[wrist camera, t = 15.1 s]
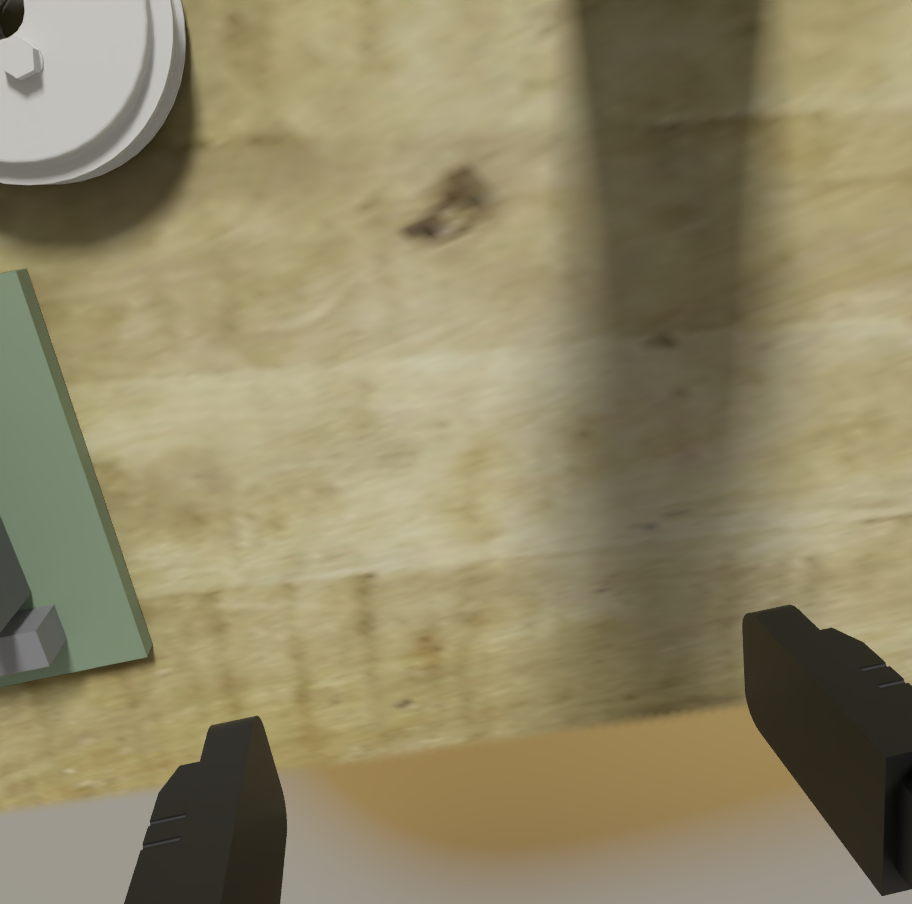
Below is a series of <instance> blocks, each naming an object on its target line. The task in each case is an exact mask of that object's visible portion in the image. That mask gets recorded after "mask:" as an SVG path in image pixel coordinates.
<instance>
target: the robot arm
mask: <svg viewBox="0 0 912 904" xmlns="http://www.w3.org/2000/svg"><path fill="white" fill-rule="evenodd" d="M742 629H743V653H744V677H745V694H746V700H747V704H748V708H749V711H750V714H751V716H752V719H753V721H754V723H755V725H756V727H757V728H758V730H759V731H760V733H761V734H762V736H763V737H764V738H765V740H766V741H767V742H768V744H769V745H770V746H771V748H772V749H773V750H774V751H775V753H776V754H777V756H778V757H779V758H780V760H781V761H782V763H783V764H784V765H785V767H786V768H787V769H788V771H789V772H790V773H791V775H792V776H793V777H794V779H795V780H796V781H797V783H798V784H799V785H800V786H801V788H802V789H803V791H804V792H805V793H806V795H807V796H808V797H809V799H810V800H811V801H812V803H813V804H814V805H815V807H816V808H817V810H818V811H819V812H820V814H821V815H822V816H823V818H824V819H825V820H826V822H827V823H828V824H829V826H830V827H831V828H832V830H833V831H834V832H835V834H836V835H837V837H838V838H839V839H840V840H841V842H842V843H843V844H844V846H845V847H846V849H847V850H848V851H849V853H850V854H851V855H852V857H853V858H854V859H855V861H856V862H857V863H858V865H859V866H860V867H861V869H862V870H863V872H864V873H865V874H866V875H867V877H868V878H869V879H870V881H871V882H872V884H873V885H874V886H875V888H876V889H877V890H878V892H879V893H880V894H881V896H885V895H889V894H893V893H897V892H901V891H906V890H909V889H912V686H911V685H910V684H909V683H906V684H905V682H904V679H903V678H902V677H901V676H900V675H899V674H898V673H897V672H896V671H894V670H893V669H892V668H891V667H890V666H889V667H887V666H886V664H885V662H884V661H883V660H882V659H881V658H880V657H879V656H878V655H877V654H876V653H874V652H873V651H872V650H871V649H870V648H869V647H868V646H867V645H866V644H864V643H863V642H861V641H859V640H857V639H855V638H853V637H851V636H848V635H846V634H844V633H842V632H840V631H838V630H836V629H834V628H828V629H823V630H819V629H818V628H817V627H816V626H815V625H814V624H813V623H812V622H811V621H810V620H809V619H808V618H807V617H806V616H805V615H804V614H803V613H802V612H801V611H800V610H798V609H797V608H796V607H795V606H793V605H785V606H781V607H776V608H771V609H767V610H762V611H757V612H752V613H748V614H746V615H745V616H744V618H743V625H742ZM286 837H287V819H286V807H285V800H284V795H283V791H282V787H281V784H280V780H279V777H278V774H277V770H276V767H275V763H274V760H273V756H272V753H271V750H270V746H269V743H268V739H267V736H266V733H265V729H264V726H263V723H262V721H261V719H260V718H259V716H254V717H249V718H244V719H240V720H235V721H230V722H225V723H221V724H216V725H211V726H210V728H209V729H208V732H207V736H206V740H205V744H204V748H203V752H202V756H201V759H200V762H195V763H191V764H186V765H181V766H179V767H178V769H177V770H176V771H175V773H174V774H173V775H172V776H171V778H170V779H169V780H168V782H167V783H166V784H165V785H164V787H163V788H162V789H161V791H160V792H159V794H158V797H157V800H156V803H155V807H154V810H153V813H152V816H151V819H150V826H149V827H148V829H147V832H146V835H145V838H144V841H143V850H141V851H140V854H139V857H138V861H137V864H136V867H135V870H134V874H133V877H132V880H131V883H130V886H129V890H128V893H127V896H126V899H125V902H124V904H280V898H281V888H282V878H283V867H284V857H285V847H286Z"/></svg>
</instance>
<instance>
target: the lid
mask: <svg viewBox="0 0 912 904" xmlns="http://www.w3.org/2000/svg"><path fill="white" fill-rule="evenodd" d="M4 1H5V0H0V10H1V6H2V4H3V3H4ZM24 9H25V13H24V18H23V22H22V24H21V26H20V27H19V29H18V31H17V32H15V33H14V34H13V35H12V36H10V37H8V38H5V36H4V34H3V31H2V29H1V26H0V183H4V184H15V185H49V184H68V183H74V182H80V181H85V180H88V179H91V178H94V177H97V176H101V175H103V174H105V173H107V172H109V171H111V170H113V169H115V168H117V167H119V166H121V165H123V164H124V163H125V162H127V161H128V160H130V159H131V158H132V157H134V156H135V155H137V154H138V153H139V152H140V151H141V150H142V149H143V148H144V147H145V146H146V145H147V144H148V143H149V142H150V141H151V140H152V139H153V137H154V136H155V135H156V133H157V132H158V131H159V129H160V128H161V127H162V125H163V124H164V122H165V120H166V118H167V116H168V114H169V113H170V111H171V109H172V107H173V105H174V102H175V99H176V96H177V93H178V91H179V88H180V85H181V80H182V75H183V70H184V64H185V51H186V32H185V19H184V12H183V7H182V2H181V0H24Z"/></svg>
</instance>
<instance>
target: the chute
mask: <svg viewBox="0 0 912 904" xmlns="http://www.w3.org/2000/svg"><path fill="white" fill-rule="evenodd" d="M30 594H31V590H30V588H29V585H28V583H27V580H26V578H25V575H24V573H23V570H22V568H21V566H20V563H19V561H18V558H17V556H16V553H15V551H14V548H13V546H12V543H11V541H10V538H9V536H8V534H7V531H6V529H5V526H4V524H3V521H2V519H1V516H0V633H1V631H2V630H3V629H4V627H5V626H6V625H7V624H8V622H9V621H10V620H11V618H12V617H13V616H14V615H15V613H16V612H17V611H18V609H19V608H20V607H21V606H22V604H23V603H24V602H25V600H26V599H27V598H28V596H29V595H30Z"/></svg>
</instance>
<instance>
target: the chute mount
mask: <svg viewBox="0 0 912 904" xmlns="http://www.w3.org/2000/svg"><path fill="white" fill-rule="evenodd" d="M0 516H1V519H2V521H3V524H4V526H5V529H6V531H7V534H8V536H9V538H10V541H11V543H12V546H13V548H14V551H15V553H16V556H17V558H18V561H19V563H20V566H21V568H22V570H23V573H24V575H25V578H26V580H27V583H28V585H29V588H30V590H31V594H30V595H29V596H28V598H27V599H26V600H25V602H24V603H23V604H22V606H21V607H20V608H19V609H18V611H17V612H16V613H15V615H14V616H13V617H12V618H11V620H10V621H9V622H8V624H7V625H6V626H5V627H4V629H3V630H2V631H1V633H0V687H4V686H9V685H13V684H18V683H23V682H28V681H33V680H38V679H43V678H48V677H53V676H57V675H62V674H67V673H72V672H77V671H82V670H87V669H92V668H97V667H101V666H106V665H111V664H116V663H121V662H126V661H131V660H136V659H141V658H145V657H147V656H148V654H149V652H150V649H151V647H152V645H153V644H152V641H151V638H150V636H149V633H148V630H147V627H146V624H145V621H144V618H143V615H142V612H141V609H140V606H139V603H138V600H137V597H136V594H135V591H134V588H133V585H132V582H131V579H130V576H129V573H128V570H127V567H126V564H125V561H124V558H123V555H122V552H121V549H120V546H119V543H118V540H117V537H116V534H115V531H114V528H113V525H112V522H111V519H110V516H109V513H108V510H107V507H106V504H105V501H104V498H103V495H102V492H101V489H100V486H99V483H98V480H97V477H96V474H95V471H94V468H93V466H92V463H91V460H90V457H89V454H88V451H87V448H86V445H85V442H84V439H83V436H82V433H81V430H80V427H79V424H78V421H77V418H76V415H75V412H74V409H73V406H72V403H71V400H70V397H69V394H68V391H67V388H66V385H65V382H64V379H63V376H62V373H61V370H60V367H59V364H58V361H57V358H56V355H55V352H54V349H53V346H52V343H51V340H50V337H49V334H48V331H47V328H46V325H45V322H44V319H43V316H42V313H41V310H40V307H39V304H38V301H37V298H36V296H35V293H34V290H33V287H32V284H31V281H30V278H29V275H28V272H27V269H21V270H15V271H10V272H4V273H0Z"/></svg>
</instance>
